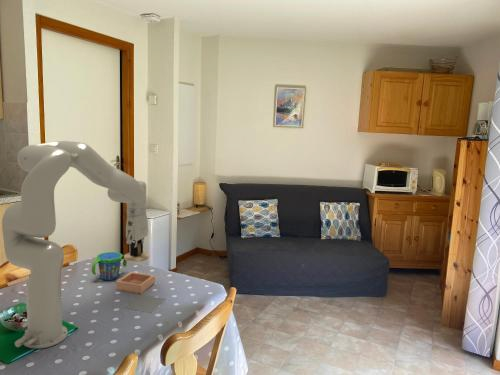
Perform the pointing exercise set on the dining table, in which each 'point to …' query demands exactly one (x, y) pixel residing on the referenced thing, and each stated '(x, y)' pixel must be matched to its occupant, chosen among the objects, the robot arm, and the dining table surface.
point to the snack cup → (109, 265)
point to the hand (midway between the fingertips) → (136, 254)
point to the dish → (135, 282)
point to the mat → (144, 303)
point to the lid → (139, 258)
